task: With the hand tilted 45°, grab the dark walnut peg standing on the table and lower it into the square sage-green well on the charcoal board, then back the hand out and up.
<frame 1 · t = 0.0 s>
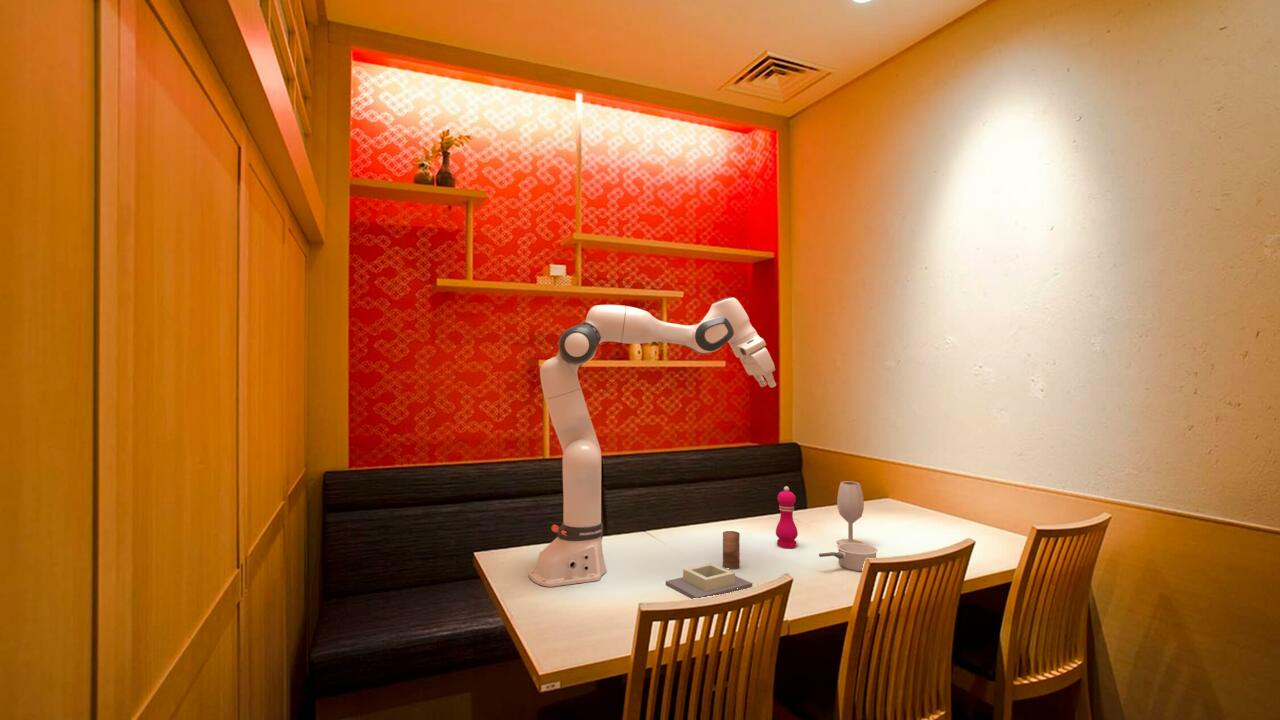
hand: (768, 386, 179), 54 cm above the table, tool tilted 30°, fingers open, 8 cm apart
saucepan: (846, 569, 177), on the table
walnut peg: (731, 566, 178), on the table
pepper mill: (786, 546, 199), on the table
wineglass: (850, 545, 200), on the table
socket block: (708, 585, 162), on the table
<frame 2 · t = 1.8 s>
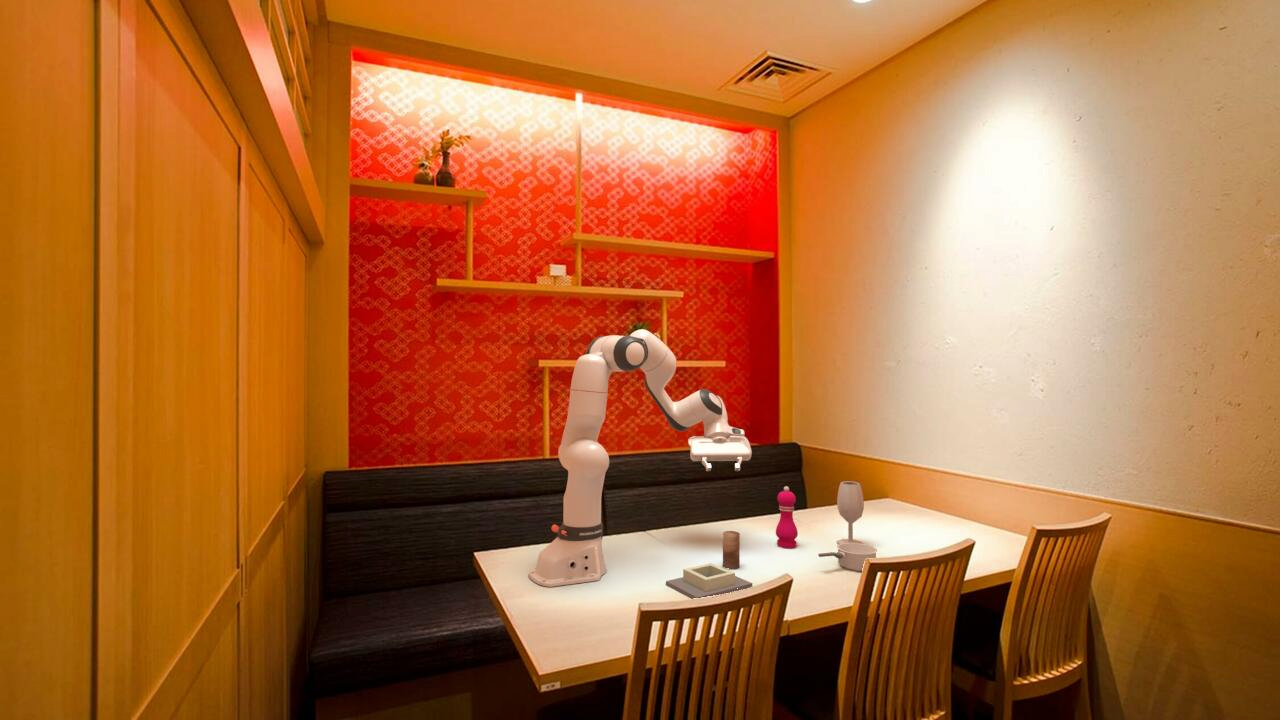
hand: (723, 469, 191), 27 cm above the table, tool tilted 45°, fingers open, 8 cm apart
nothing on the table moved.
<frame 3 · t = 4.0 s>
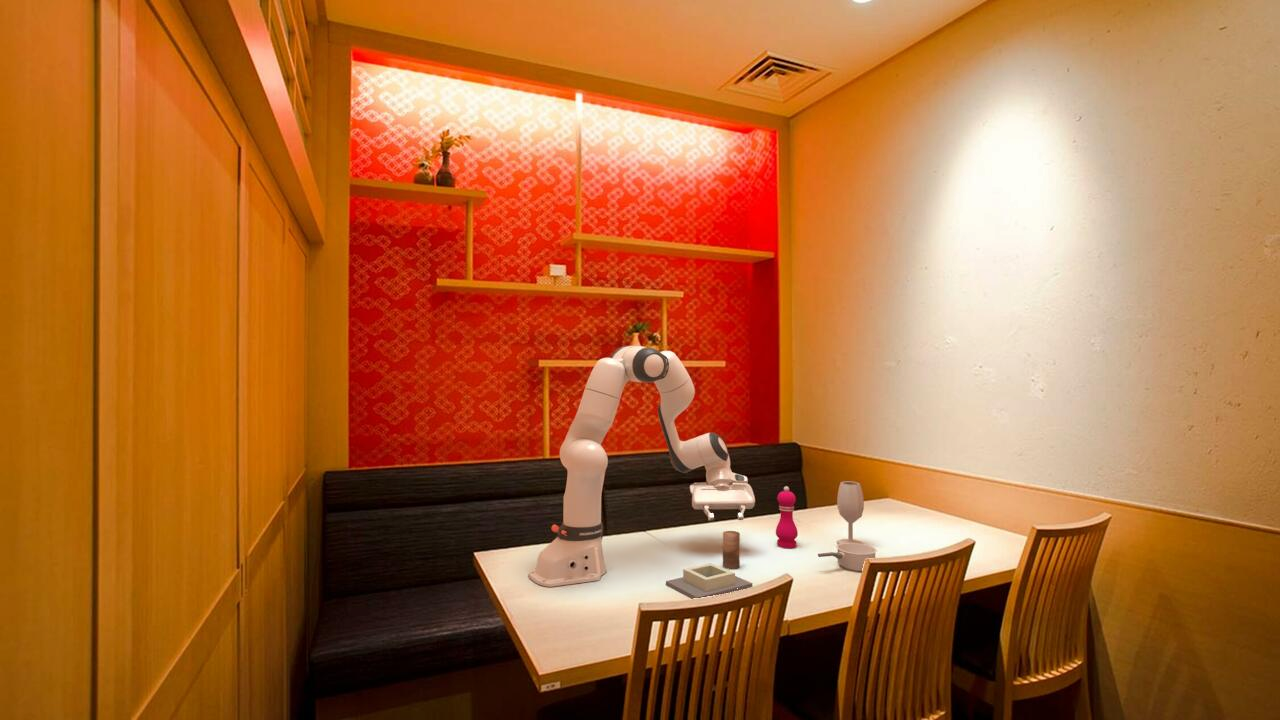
hand: (726, 519, 186), 12 cm above the table, tool tilted 45°, fingers open, 8 cm apart
nothing on the table moved.
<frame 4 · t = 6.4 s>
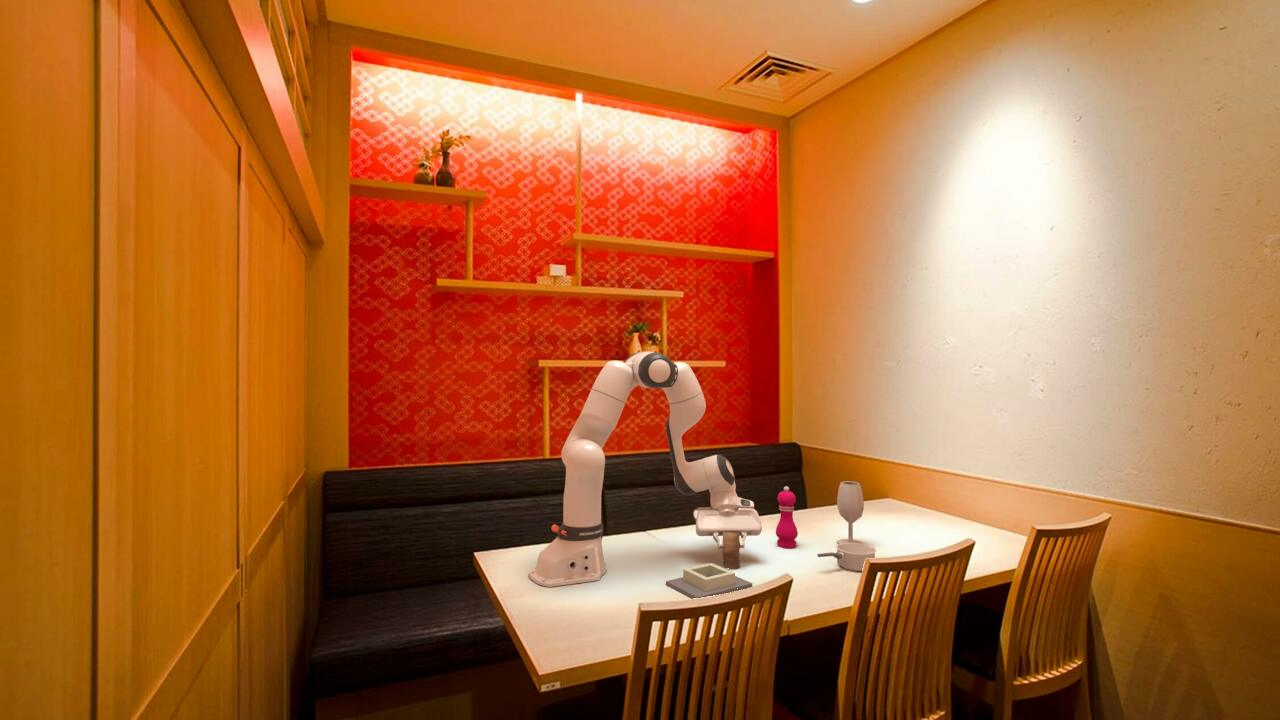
hand: (731, 547, 178), 6 cm above the table, tool tilted 45°, fingers closed on walnut peg, 5 cm apart
walnut peg: (731, 566, 178), on the table, touching gripper
everything else where it was.
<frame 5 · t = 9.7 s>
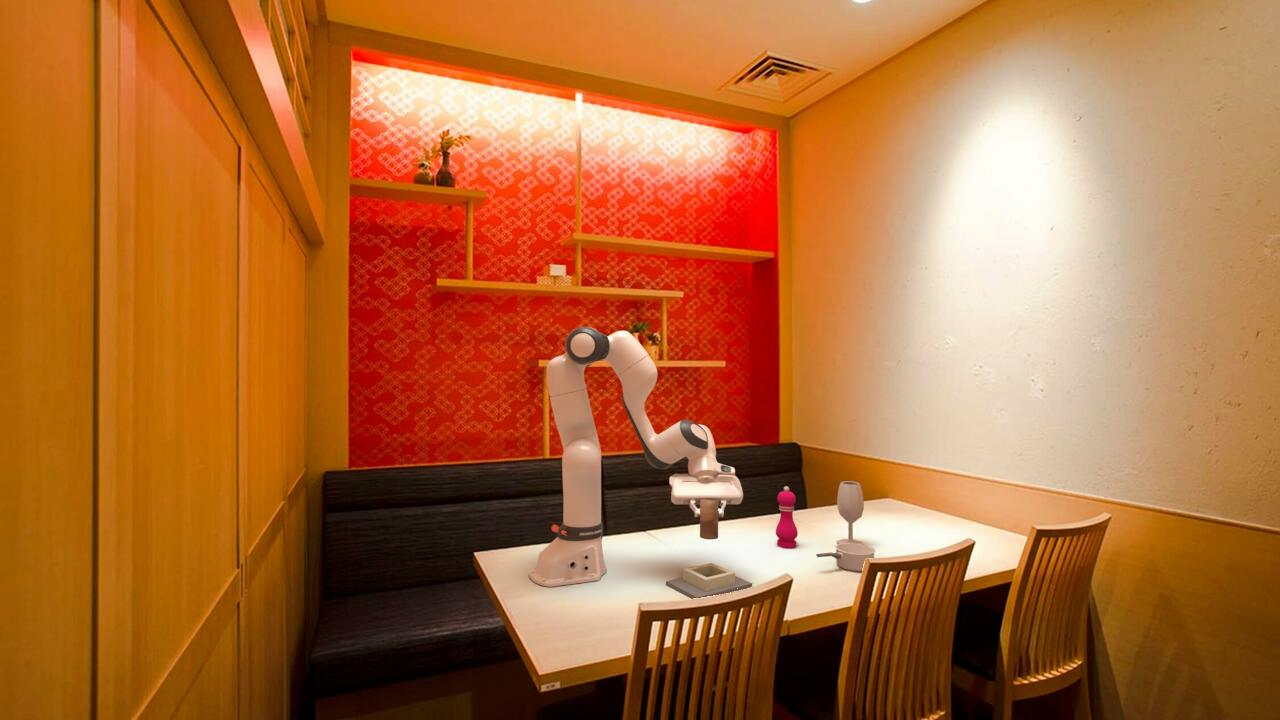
hand: (709, 516, 163), 19 cm above the table, tool tilted 45°, fingers closed on walnut peg, 5 cm apart
walnut peg: (709, 536, 163), point 13 cm above the table, touching gripper
everything else where it was.
when the fingers open (8 cm above the table, at t = 12.9 s): walnut peg drops 1 cm, resting on socket block.
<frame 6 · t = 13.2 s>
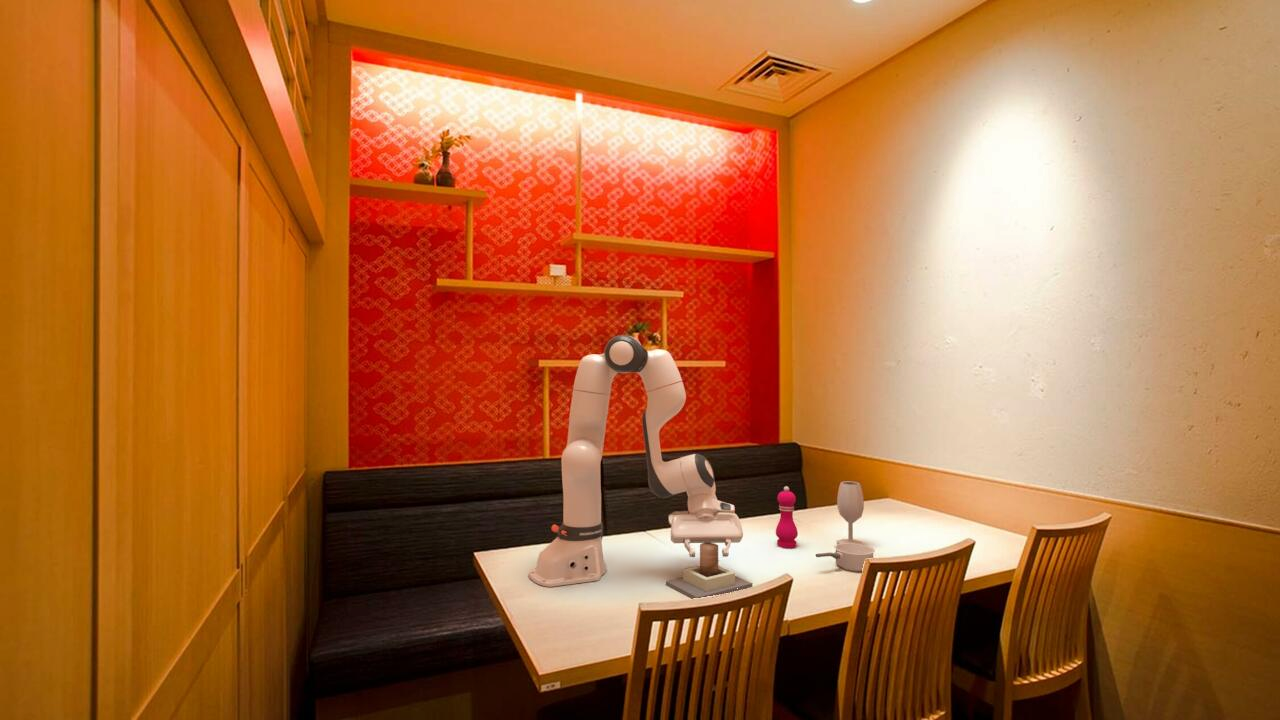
hand: (709, 555, 162), 8 cm above the table, tool tilted 45°, fingers open, 8 cm apart
walnut peg: (709, 582, 162), point 1 cm above the table, touching socket block
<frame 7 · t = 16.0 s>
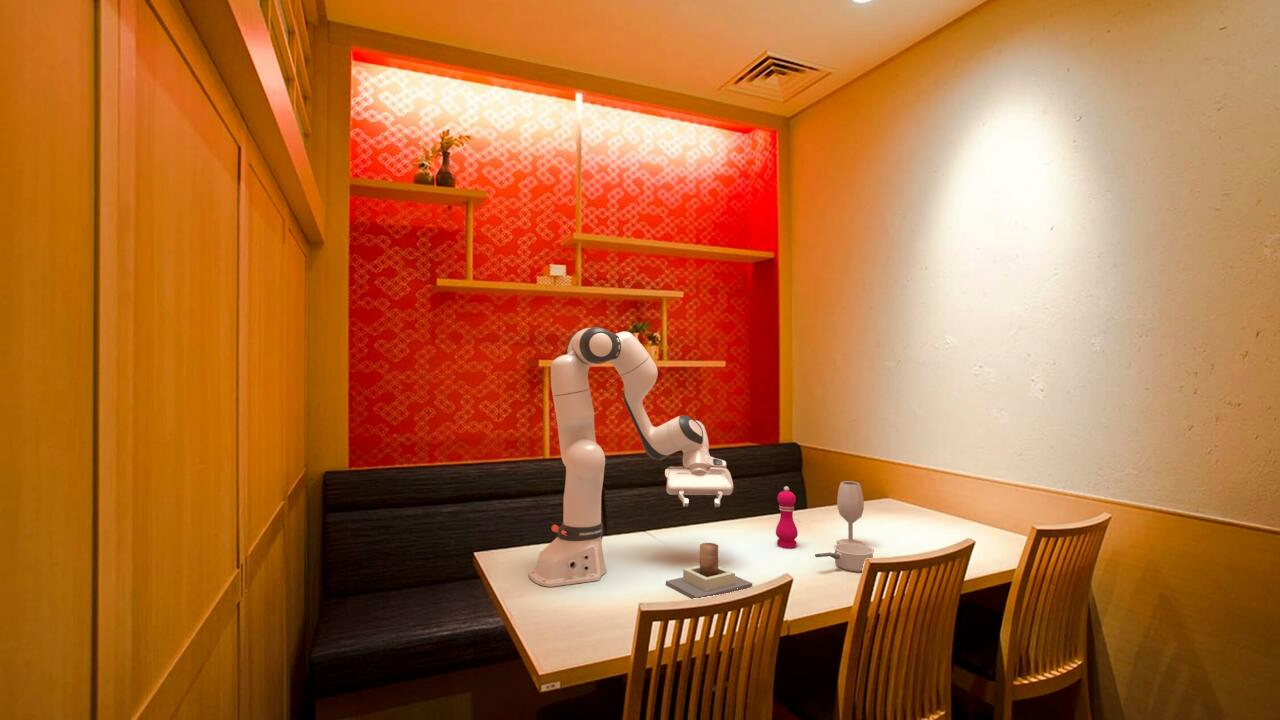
hand: (701, 505, 175), 19 cm above the table, tool tilted 45°, fingers open, 8 cm apart
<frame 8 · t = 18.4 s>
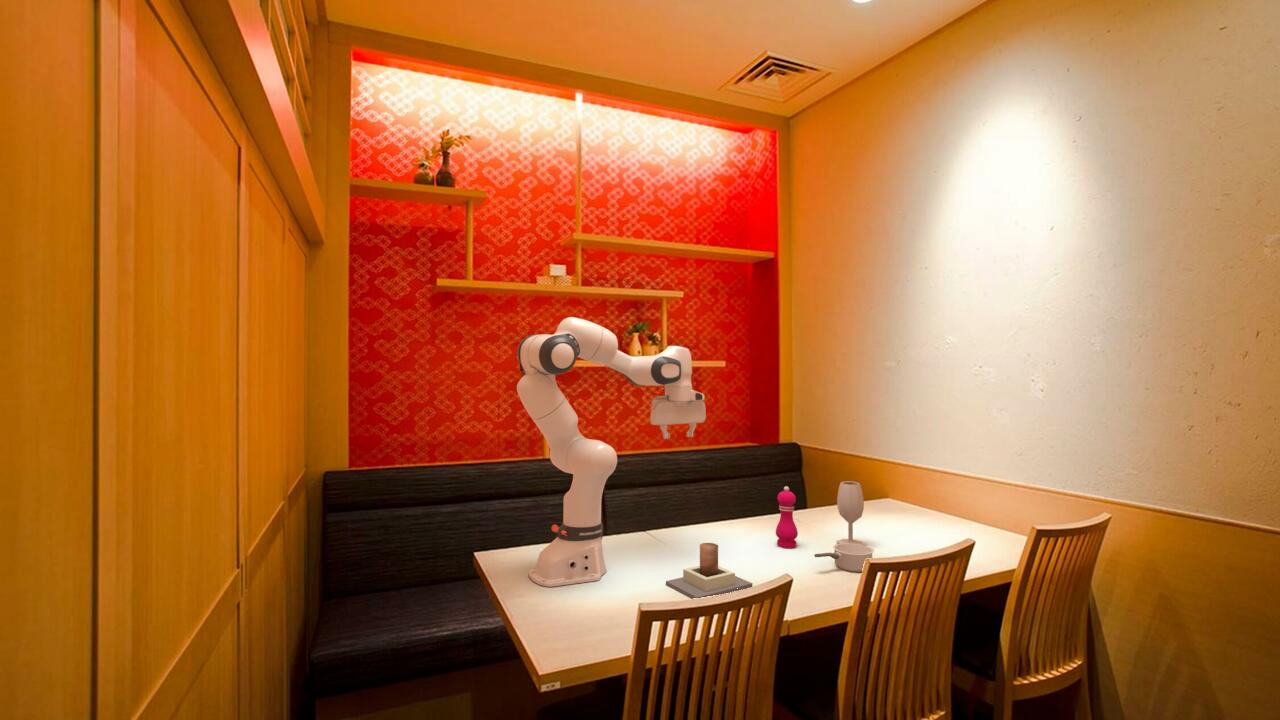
hand: (678, 437, 193), 37 cm above the table, tool pointing down, fingers open, 8 cm apart
at the end: walnut peg 0.1 cm off-centre on the socket block, point 1.0 cm above the socket block's base; walnut peg tilted 0°; the gripper is holding nothing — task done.
